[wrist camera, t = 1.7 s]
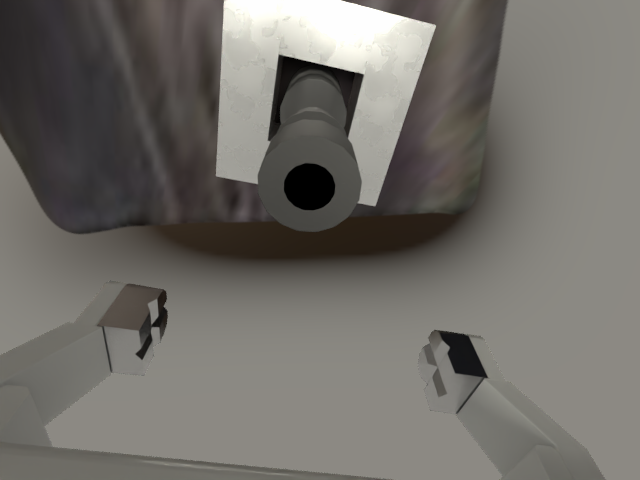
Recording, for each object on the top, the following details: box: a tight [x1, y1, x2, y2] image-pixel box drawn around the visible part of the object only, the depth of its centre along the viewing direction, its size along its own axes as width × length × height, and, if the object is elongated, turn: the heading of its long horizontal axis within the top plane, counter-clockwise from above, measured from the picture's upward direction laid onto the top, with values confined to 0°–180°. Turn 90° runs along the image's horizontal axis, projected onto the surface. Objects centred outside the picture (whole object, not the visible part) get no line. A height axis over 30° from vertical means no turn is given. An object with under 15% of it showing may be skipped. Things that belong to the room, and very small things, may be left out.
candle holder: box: [258, 65, 362, 232], centre depth 29 cm, size 6×6×25 cm
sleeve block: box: [216, 0, 436, 206], centre depth 37 cm, size 18×18×7 cm
